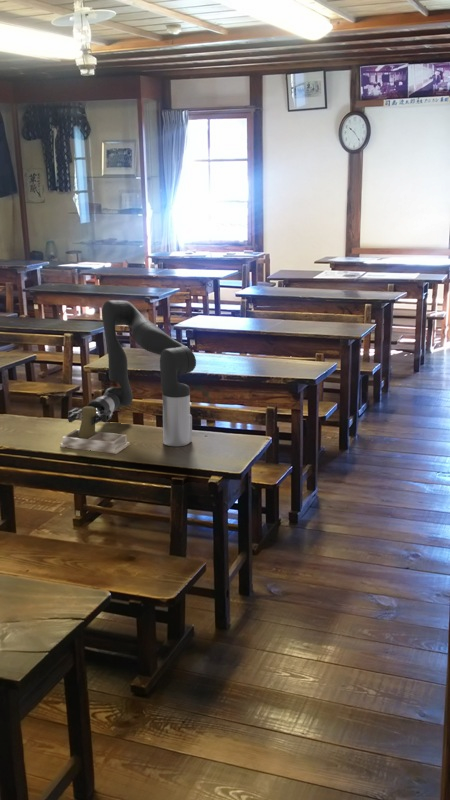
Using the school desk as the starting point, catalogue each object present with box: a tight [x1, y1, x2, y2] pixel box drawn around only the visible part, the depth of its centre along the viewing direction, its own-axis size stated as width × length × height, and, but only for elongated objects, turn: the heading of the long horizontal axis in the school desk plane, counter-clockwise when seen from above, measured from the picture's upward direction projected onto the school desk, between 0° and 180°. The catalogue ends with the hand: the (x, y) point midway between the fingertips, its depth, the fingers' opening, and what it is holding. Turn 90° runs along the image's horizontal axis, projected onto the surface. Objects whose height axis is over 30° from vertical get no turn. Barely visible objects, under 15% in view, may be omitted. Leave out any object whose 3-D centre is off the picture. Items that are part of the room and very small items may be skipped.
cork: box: [78, 405, 97, 439], centre depth 269 cm, size 6×6×11 cm
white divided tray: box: [59, 428, 130, 455], centre depth 267 cm, size 21×10×4 cm, turn 72°
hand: (81, 420), depth 266 cm, fingers open, 8 cm apart
